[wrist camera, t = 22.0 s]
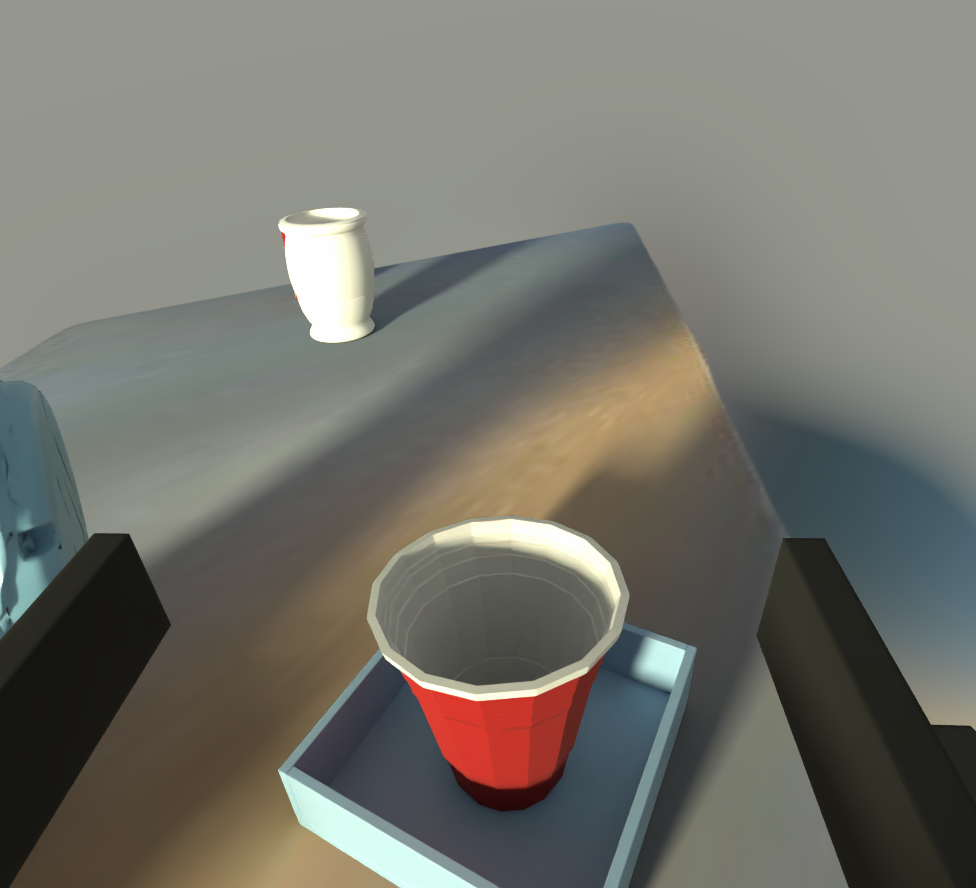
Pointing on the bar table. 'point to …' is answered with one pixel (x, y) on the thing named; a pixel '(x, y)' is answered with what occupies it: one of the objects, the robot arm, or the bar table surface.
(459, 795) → the tray
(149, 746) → the bar table surface
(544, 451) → the bar table surface
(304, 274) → the jar
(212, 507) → the bar table surface
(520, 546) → the plastic cup
